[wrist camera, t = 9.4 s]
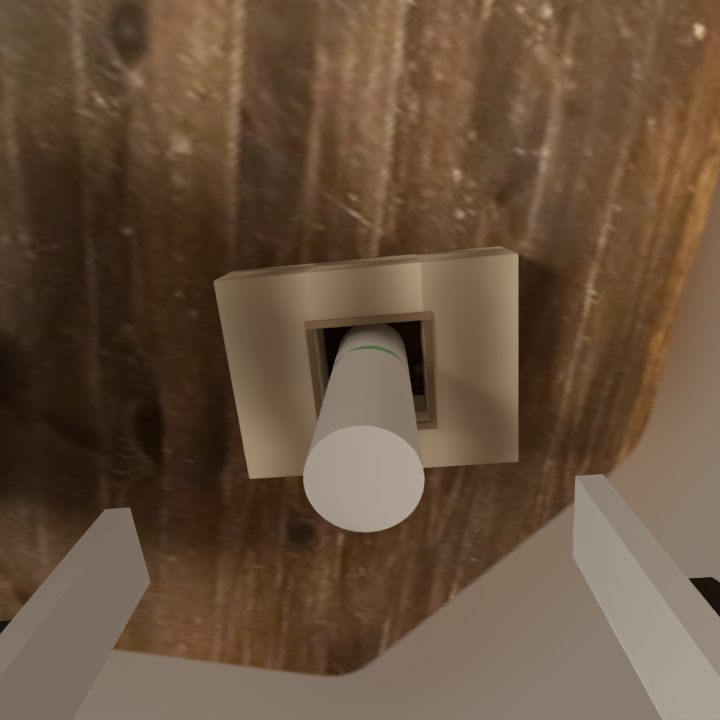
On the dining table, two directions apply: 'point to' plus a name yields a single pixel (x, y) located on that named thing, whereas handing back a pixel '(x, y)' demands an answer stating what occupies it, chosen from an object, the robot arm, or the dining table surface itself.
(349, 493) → the tube
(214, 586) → the dining table surface
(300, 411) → the socket board
